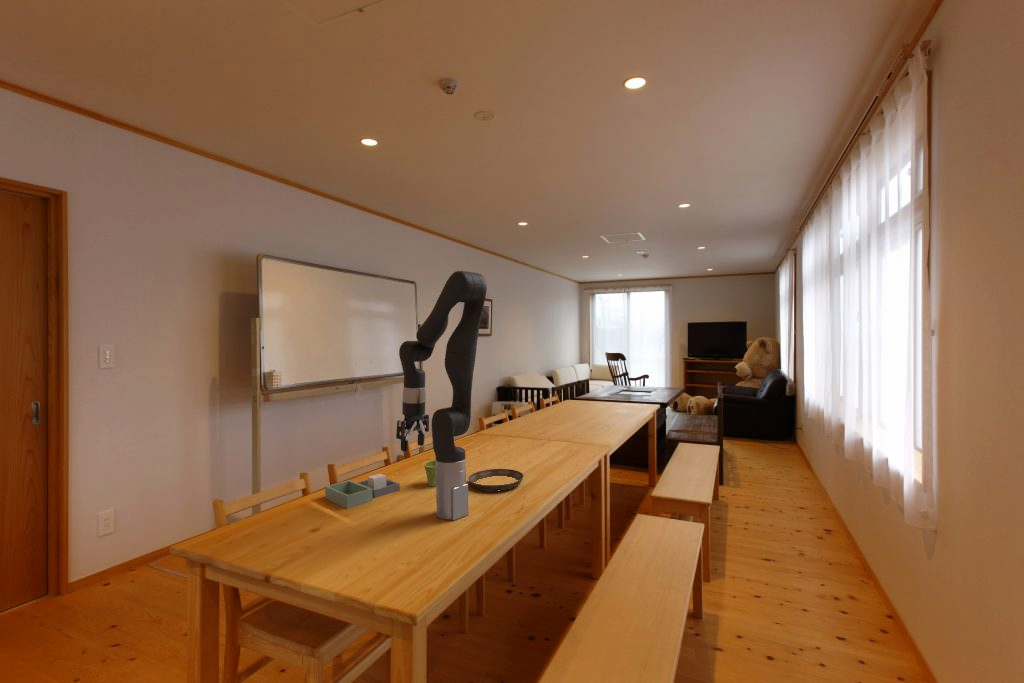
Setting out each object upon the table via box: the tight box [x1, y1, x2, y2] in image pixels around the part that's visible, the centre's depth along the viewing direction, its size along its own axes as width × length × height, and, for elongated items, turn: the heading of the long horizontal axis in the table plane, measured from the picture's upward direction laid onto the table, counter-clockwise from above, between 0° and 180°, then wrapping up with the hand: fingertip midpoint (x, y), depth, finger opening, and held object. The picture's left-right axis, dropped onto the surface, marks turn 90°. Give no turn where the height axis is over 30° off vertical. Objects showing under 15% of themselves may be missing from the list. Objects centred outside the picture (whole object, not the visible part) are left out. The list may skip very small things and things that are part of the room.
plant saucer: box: [467, 468, 525, 492], centre depth 175 cm, size 21×21×3 cm
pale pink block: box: [367, 473, 387, 489], centre depth 167 cm, size 4×5×5 cm
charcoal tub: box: [356, 478, 401, 499], centre depth 167 cm, size 13×10×4 cm
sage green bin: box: [324, 479, 374, 509], centre depth 158 cm, size 15×9×5 cm, turn 48°
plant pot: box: [422, 459, 436, 488], centre depth 173 cm, size 9×9×9 cm
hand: (412, 448), depth 158 cm, fingers open, 8 cm apart
